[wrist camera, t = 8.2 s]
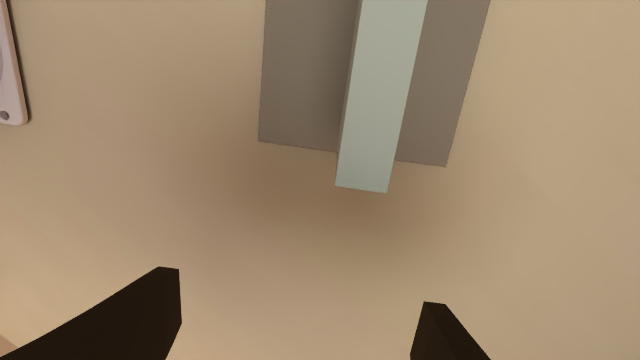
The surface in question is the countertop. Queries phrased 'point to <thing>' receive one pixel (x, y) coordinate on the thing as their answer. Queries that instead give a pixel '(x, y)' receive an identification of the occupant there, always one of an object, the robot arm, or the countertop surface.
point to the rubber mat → (332, 68)
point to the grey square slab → (377, 90)
